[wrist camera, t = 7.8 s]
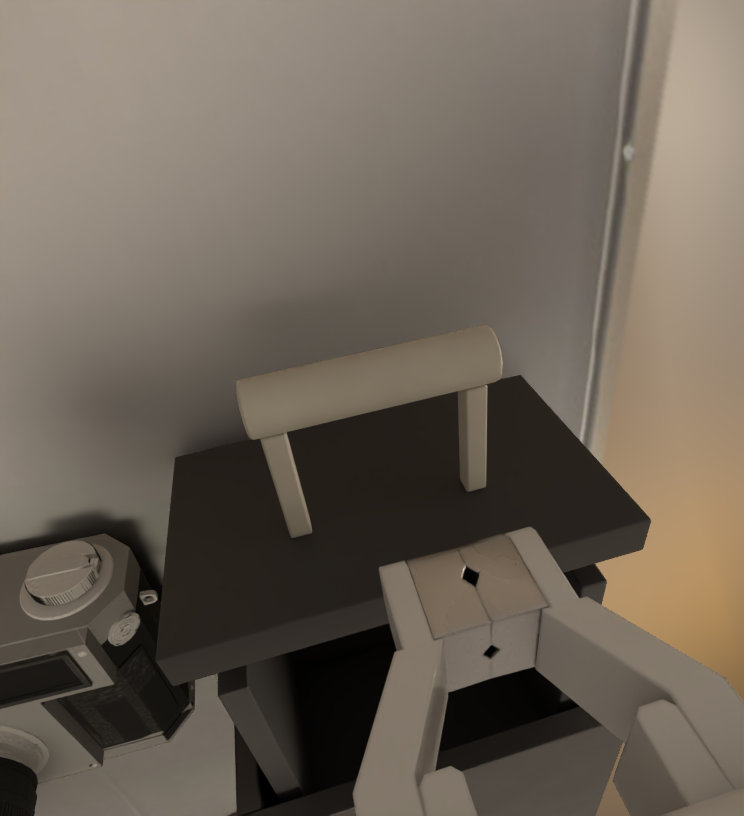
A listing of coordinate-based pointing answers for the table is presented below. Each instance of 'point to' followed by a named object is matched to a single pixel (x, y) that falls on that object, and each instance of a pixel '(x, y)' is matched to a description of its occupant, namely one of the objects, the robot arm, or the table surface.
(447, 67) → the table surface
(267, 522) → the drawer
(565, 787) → the cabinet
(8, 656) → the camera
